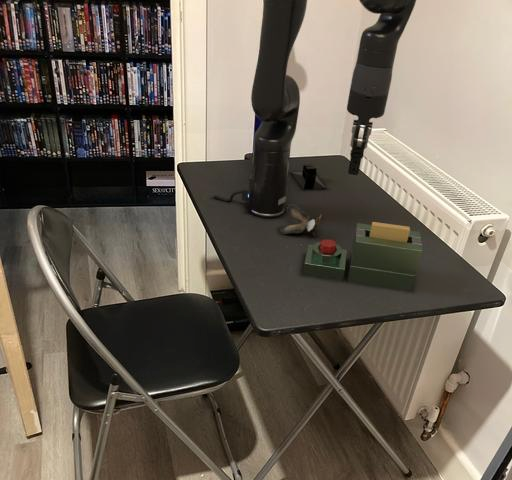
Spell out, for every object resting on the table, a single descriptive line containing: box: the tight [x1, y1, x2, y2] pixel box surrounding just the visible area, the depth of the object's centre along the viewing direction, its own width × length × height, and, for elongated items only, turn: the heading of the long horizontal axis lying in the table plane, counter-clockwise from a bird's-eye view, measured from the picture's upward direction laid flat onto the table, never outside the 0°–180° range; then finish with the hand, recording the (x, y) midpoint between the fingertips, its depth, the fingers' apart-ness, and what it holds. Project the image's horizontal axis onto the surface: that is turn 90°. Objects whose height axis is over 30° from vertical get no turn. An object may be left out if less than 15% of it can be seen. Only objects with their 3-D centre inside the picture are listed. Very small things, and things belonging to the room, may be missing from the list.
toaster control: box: [302, 241, 348, 282], centre depth 129 cm, size 9×9×5 cm
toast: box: [369, 221, 411, 243], centre depth 124 cm, size 8×2×8 cm, turn 81°
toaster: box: [347, 222, 423, 292], centre depth 126 cm, size 14×9×10 cm, turn 80°
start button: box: [319, 238, 337, 253], centre depth 127 cm, size 4×4×2 cm
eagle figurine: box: [279, 203, 323, 238], centre depth 141 cm, size 8×7×9 cm
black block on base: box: [290, 163, 327, 191], centre depth 168 cm, size 12×7×5 cm, turn 13°
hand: (353, 173), depth 122 cm, fingers closed
